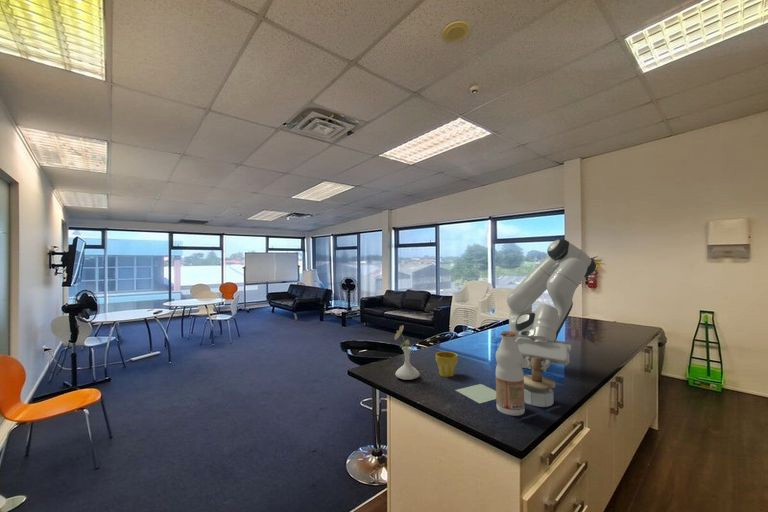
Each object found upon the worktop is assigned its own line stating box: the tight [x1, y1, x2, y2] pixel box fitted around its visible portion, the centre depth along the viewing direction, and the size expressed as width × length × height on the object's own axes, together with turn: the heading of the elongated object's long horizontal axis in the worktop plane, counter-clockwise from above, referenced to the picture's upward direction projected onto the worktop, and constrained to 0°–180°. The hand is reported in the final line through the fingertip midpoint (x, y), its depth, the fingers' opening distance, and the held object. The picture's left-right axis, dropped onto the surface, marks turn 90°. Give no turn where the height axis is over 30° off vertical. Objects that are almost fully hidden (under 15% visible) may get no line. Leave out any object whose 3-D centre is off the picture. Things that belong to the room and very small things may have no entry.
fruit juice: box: [495, 330, 526, 417], centre depth 110 cm, size 9×9×28 cm
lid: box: [524, 357, 556, 390], centre depth 116 cm, size 12×12×9 cm
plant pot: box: [435, 351, 459, 378], centre depth 146 cm, size 10×10×10 cm
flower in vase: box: [393, 324, 421, 381], centre depth 143 cm, size 13×11×25 cm
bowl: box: [524, 385, 555, 408], centre depth 116 cm, size 11×11×5 cm
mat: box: [455, 383, 496, 405], centre depth 123 cm, size 14×14×1 cm
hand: (536, 369), depth 116 cm, fingers closed on lid, 3 cm apart
